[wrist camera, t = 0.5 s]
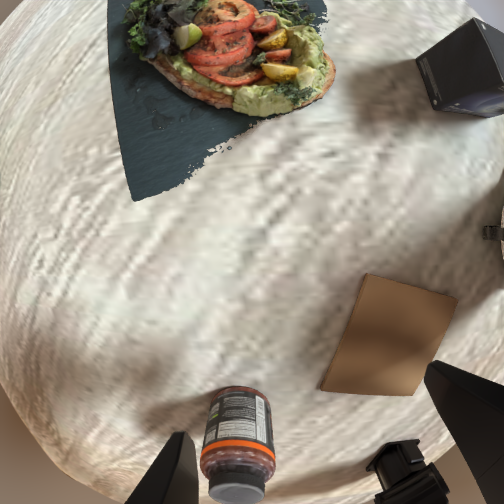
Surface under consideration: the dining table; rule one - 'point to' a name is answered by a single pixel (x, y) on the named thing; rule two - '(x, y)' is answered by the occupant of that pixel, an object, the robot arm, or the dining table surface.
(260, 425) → the supplement bottle
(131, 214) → the dining table surface
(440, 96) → the small box
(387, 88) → the dining table surface
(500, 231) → the coffee press
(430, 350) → the walnut trivet
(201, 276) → the dining table surface
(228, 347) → the dining table surface
